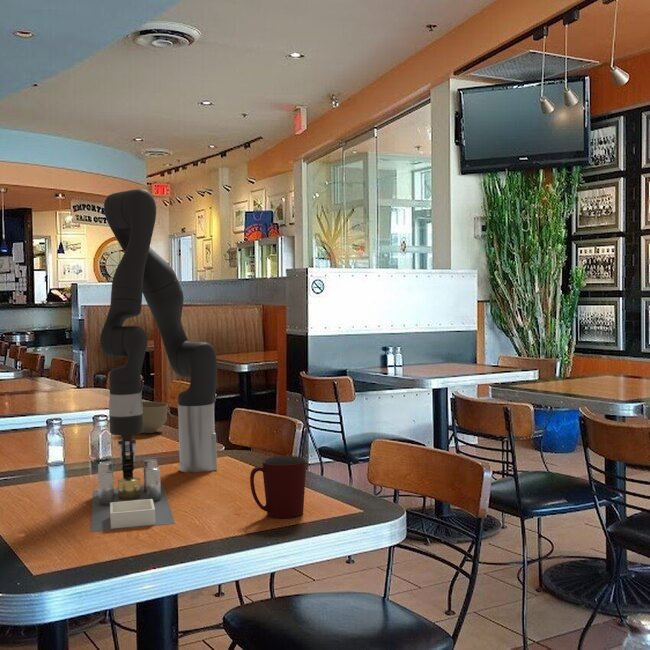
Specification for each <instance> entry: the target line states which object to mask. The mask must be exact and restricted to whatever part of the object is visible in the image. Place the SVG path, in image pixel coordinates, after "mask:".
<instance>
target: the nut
mask: <svg viewBox="0 0 650 650" xmlns="http://www.w3.org/2000/svg"><path fill="white" fill-rule="evenodd" d="M117 487H118V488H117V489H118V496H119V499H120V500H134V499H138V498H140V497H141V492H140V487H141V478H140V477H134V476H133V477H127V478H123V477H122V478H119V479H117Z"/></svg>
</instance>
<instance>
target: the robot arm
mask: <svg viewBox="0 0 650 650" xmlns="http://www.w3.org/2000/svg"><path fill="white" fill-rule="evenodd" d="M103 211H104V212H103V213H104V216H105V219H106V222H107V223H108V226H109V227H110V230H111V232H112V234H113V236H114V237H115V239H116V240H117V242H118V244H119V246H120V247H121V249H122V250H123V255H122V257H121V259H120V261H119V263H118V265H117V267H116V269H115V271H114V274H113V277H112V281H111V291H110V292H111V293H110V305H109V306H110V307H109V310H108V313H107V317H106V319H105V322H104V325H103V326H102V330H101V332H100V337H99V346H100V349H101V352H102V353H103V355H105V356H106V357H111V358H115V357H116V358H124V357H125V358H127V360H126V363H125V365H122V366H118V367H113V368H112V369H111V370H110V371H109V374H108V377H109V379H108V380H109V400H108V401H109V402H108V411H109V412H108V415H109V418H108V419H109V433H110V434H111V435H113V436H120V437H121V440H117V444H118V445H117V446H118V451H119V463H120V464H121V471H122V478H127V477H134V470H135V466H134V462H135V461H136V450H137V442H136V441H137V440H136V439H133V435H139V434H142V433H141V432H143V405H142V402H143V398H142V387H141V386H142V385H141V384H142V382H141V381H142V380H141V378H142V377H141V376H142V369H143V364H144V360H145V355H146V352H147V347H148V336H147V333H146V331H145V330H144V329H143V328H142V327H140V326H137V325H136V326H135V325H132V326H131V325H130V326H129V325H127V326H126V325H125V326H123V325H124V323H125V322H126V320H128V319H131V318H135V317H138V316H139V315H140V314H141V313H142V305H143V298H144V300H145V301H146V304H147V305H148V308H149V310H150V312H151V314H152V317H153V319H154V323H155V324H156V327H157V329H158V332H159V335H160V337H161V340H162V343H163V346H164V350H165V353H166V356H167V359H168V363H169V364H170V367H171V369H172V371H173V372H174V373H175V374H176V375H177V376H180V377H184V378H190V379H189V380H190V381H189V387H187V389H185V390H183V391H181V392H179V393H178V395H177V411H178V412H177V414H178V415H177V416H178V417H177V418H178V420H177V421H178V450H179V451H178V453H179V471H180V472H181V473H200V472H210V471H211V472H212V471H218V463H217V462H218V457H217V433H216V431H215V429H216V428H215V395H216V392H217V382H218V381H217V380H218V379H217V377H218V374H217V373H218V366H217V365H218V358H217V353H216V350H215V348H214V346H213V345H212V344H211V343H208V342H206V341H205V342H204V341H190V340H189V338H188V336H187V334H186V332H185V329H184V326H183V324H182V323H183V322H182V314H183V307H184V292H183V289H182V287H181V286H182V285H181V284H180V282H179V279H178V277H177V275H176V272H175V270H174V269H173V267H172V266H171V265H170V264H169V263H168V262H167V261H166V260H165V259H164V258H162V256H160V255H159V253H157V252H156V251H155V250H154V249H153V248H152V247H151V243H152V238H153V233H154V230H155V229H154V228H155V223H156V219H157V204H156V200H155V198H154V196H153V195H152V194H151V192H149V190H147V189H144V188H135V189H130V190H129V189H128V190H124V191H120V192H118V191H117V192H115V193H114V192H113V193H112V194H109V195H108V196H106V198H105V199H104V205H103Z"/></svg>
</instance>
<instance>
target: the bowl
mask: <svg viewBox="0 0 650 650" xmlns="http://www.w3.org/2000/svg"><path fill="white" fill-rule="evenodd" d="M142 405H143V432H141V433H140V434H153V433H156V432H157V430H159V429H160V428H161V427H163V426H164V424H166V422H167V417H168V407H169V404H168V403H165V402H159V401H143V400H142Z"/></svg>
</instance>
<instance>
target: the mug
mask: <svg viewBox="0 0 650 650" xmlns="http://www.w3.org/2000/svg"><path fill="white" fill-rule="evenodd" d="M261 463H262V466H255V467H254V468H252V470H251V472H250V474H249V482H250V483H249V485H250V490H251V495H252V497H253V499H254V502H255V504H256V505H257V506H258V507H259V508H260V510H263V511H264V512H266V513H267V514H266V515H267V516H268V517H271V518H274V519H292V518H298V517H301V516H302V515H303V514H304V506H305V505H304V504H305V492H306V491H305V489H306V470H307V469H306V464H307V463H306V459H305V458H303V457H301V456H293V455H292V456H291V455H290V456H289V455H284V456H282V455H281V456H273V457H267V458H265V459H263V460H262V462H261ZM258 472H262V477H263V485H264V488H263V489H264V496H265V498H264V499H265V505H263V504H262V503H261V501H260V500H259V497H258V495H257V492H256V488H255V475H256V473H258Z"/></svg>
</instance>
